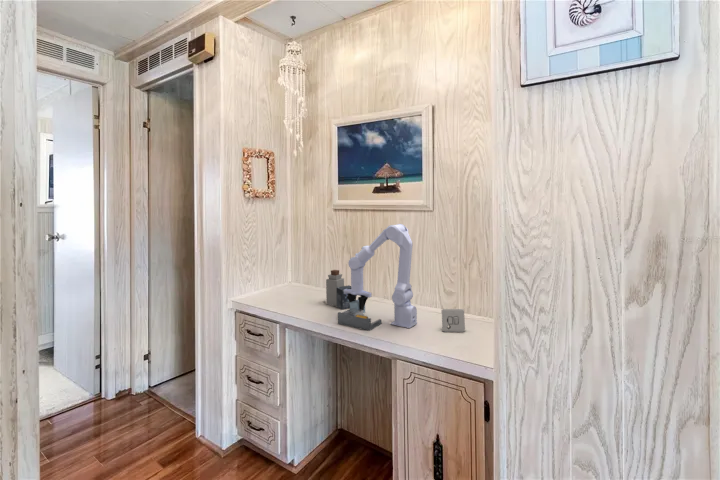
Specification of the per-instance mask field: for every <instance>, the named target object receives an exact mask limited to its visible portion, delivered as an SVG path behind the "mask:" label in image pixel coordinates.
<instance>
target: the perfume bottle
mask: <svg viewBox="0 0 720 480" xmlns="http://www.w3.org/2000/svg"><path fill="white" fill-rule="evenodd" d="M327 277H328V278H325V291H326V305H328V306H331V307H337V293H336V292H337V288H336V287H342V286H345V278H344V277H343V274H341V273H340V270H339V269H332V270H330V274H327Z"/></svg>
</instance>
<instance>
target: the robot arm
mask: <svg viewBox="0 0 720 480" xmlns="http://www.w3.org/2000/svg"><path fill="white" fill-rule="evenodd" d="M409 233H410V232H409V228H408V227H406V226H405V225H404V224H402V223H397V224H391V225H388V226H387V227H386V228H384V229H383V230H382V232H381V233H380V234H379V235H378V236H377V237H376V238H375V239H374V241H372V242H371V244H370V245H364V246H362V247H361V250H360V251H359V252H356V253H355V254H354V256H353V257H352V256H351V257H350V259H349V260H348V262H347V263H348V267H349V268H350V286H351V289H344V294H348V296H347V298H348V300H349V302H352V301H355V300H357V299H358V300H359V305H360V309H361V310H364V306H365V307H366V303H367V300H368V299H369V298H371V297H372V295H373V294H372V292H369V291H366V290H364V268H365V265H366V263H367V262H368V261H369V260H370V259H371V258H373V257H374V255H375V253H376V252H375V251H376V250H377V249H378V248H379V247H381V246H382V245H383V244H384V243H386V242H387V241H388V240H389V241H391V242H393V243H395V244H396V245H397V246H398V247H399V257H398V268H397V270H398V271H397V282H396V285H395V287H394V290H393V293H392V294H391V295H392V296H391V300H392V302H393V305H394V311H393V312H394V314H393V315H394V316H393V317H394V321H392V322H390V325H391V326H398V327H402V328H406V329H411V328H412V327H414V326H415V325H417V324H418V320H417V318H418V315H417V314H418V310H417V306H415V305H412V302H411V300H412V298H413V297H414V293H413V289H412V284H411V283H410V280H411V269H412V257H413V256H412V255H413V240H412V239H411V236H410V234H409ZM358 296H359V297H358Z"/></svg>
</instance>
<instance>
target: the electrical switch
mask: <svg viewBox="0 0 720 480" xmlns="http://www.w3.org/2000/svg"><path fill="white" fill-rule="evenodd" d="M465 324H466V323H465V310H464V309H463V308H441V331H442V332H444V333H445V332H446V333H447V332H448V333H465V331H466V325H465Z"/></svg>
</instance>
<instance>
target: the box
mask: <svg viewBox="0 0 720 480" xmlns="http://www.w3.org/2000/svg"><path fill="white" fill-rule="evenodd" d="M336 288H337V292H336V293H337V306H336V308H338V309H339V310H348V309H350V302H349V300H348V298H347V296H348V294H344V289H351V285H350V284H348V285H344V286H342V287H336Z"/></svg>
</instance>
